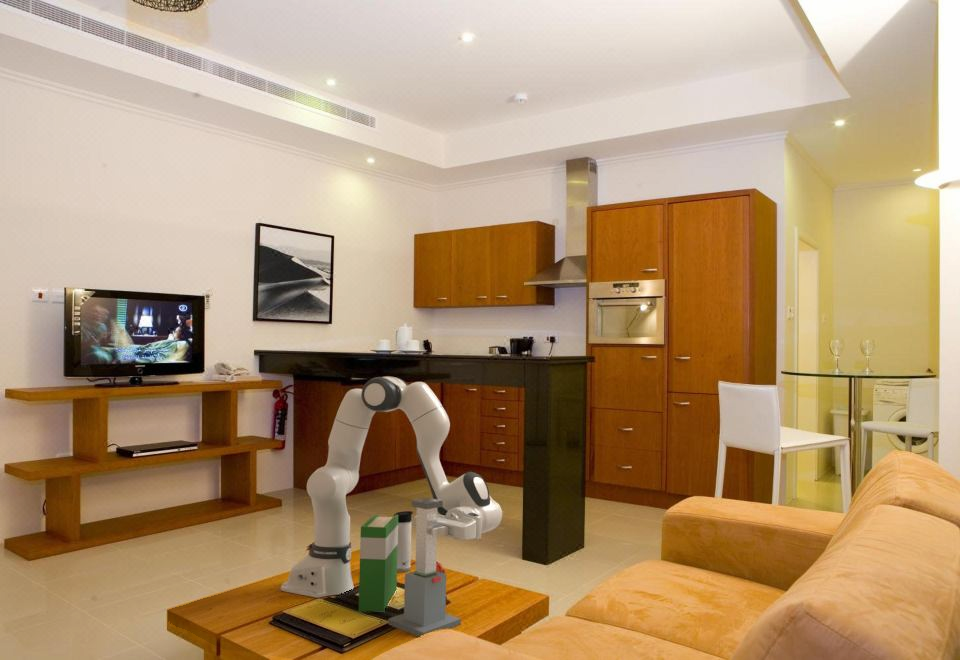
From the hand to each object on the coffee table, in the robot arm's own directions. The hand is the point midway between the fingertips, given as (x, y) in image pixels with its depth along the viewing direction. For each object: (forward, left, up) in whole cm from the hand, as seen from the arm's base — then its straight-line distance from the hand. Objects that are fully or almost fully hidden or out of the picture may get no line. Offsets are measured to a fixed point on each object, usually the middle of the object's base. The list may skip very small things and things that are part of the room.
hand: (424, 530), depth 188 cm
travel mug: (-24, +47, -26) cm, 58 cm away
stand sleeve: (0, +1, -25) cm, 25 cm away
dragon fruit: (-9, +34, -26) cm, 43 cm away
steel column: (0, +1, -18) cm, 18 cm away
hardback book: (-19, +14, -26) cm, 35 cm away
